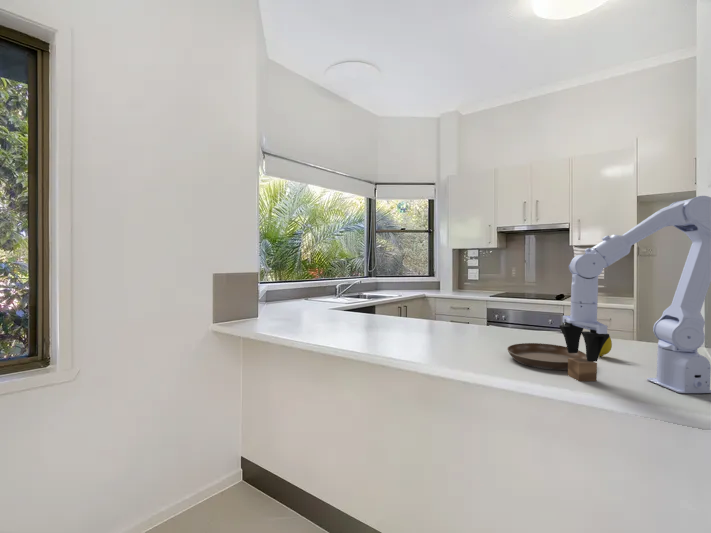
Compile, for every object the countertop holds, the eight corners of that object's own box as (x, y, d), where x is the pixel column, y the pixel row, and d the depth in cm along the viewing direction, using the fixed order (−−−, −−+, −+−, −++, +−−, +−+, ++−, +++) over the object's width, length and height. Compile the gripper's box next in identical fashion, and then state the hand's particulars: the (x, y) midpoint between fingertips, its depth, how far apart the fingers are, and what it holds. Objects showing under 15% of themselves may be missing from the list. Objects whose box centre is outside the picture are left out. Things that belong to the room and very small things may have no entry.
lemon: (614, 359, 114) (615, 332, 114) (594, 358, 115) (594, 331, 115) (606, 354, 120) (607, 329, 119) (586, 353, 121) (587, 328, 120)
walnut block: (596, 381, 94) (597, 363, 94) (578, 381, 94) (579, 363, 94) (584, 375, 99) (585, 358, 99) (567, 375, 99) (568, 358, 98)
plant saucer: (541, 376, 99) (542, 363, 99) (492, 355, 119) (492, 344, 118) (605, 370, 104) (605, 358, 104) (548, 351, 124) (548, 341, 124)
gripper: (552, 298, 103) (550, 349, 103) (587, 306, 88) (585, 365, 89) (577, 299, 103) (575, 349, 104) (617, 306, 89) (614, 365, 89)
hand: (582, 356), depth 96 cm, fingers open, 7 cm apart
